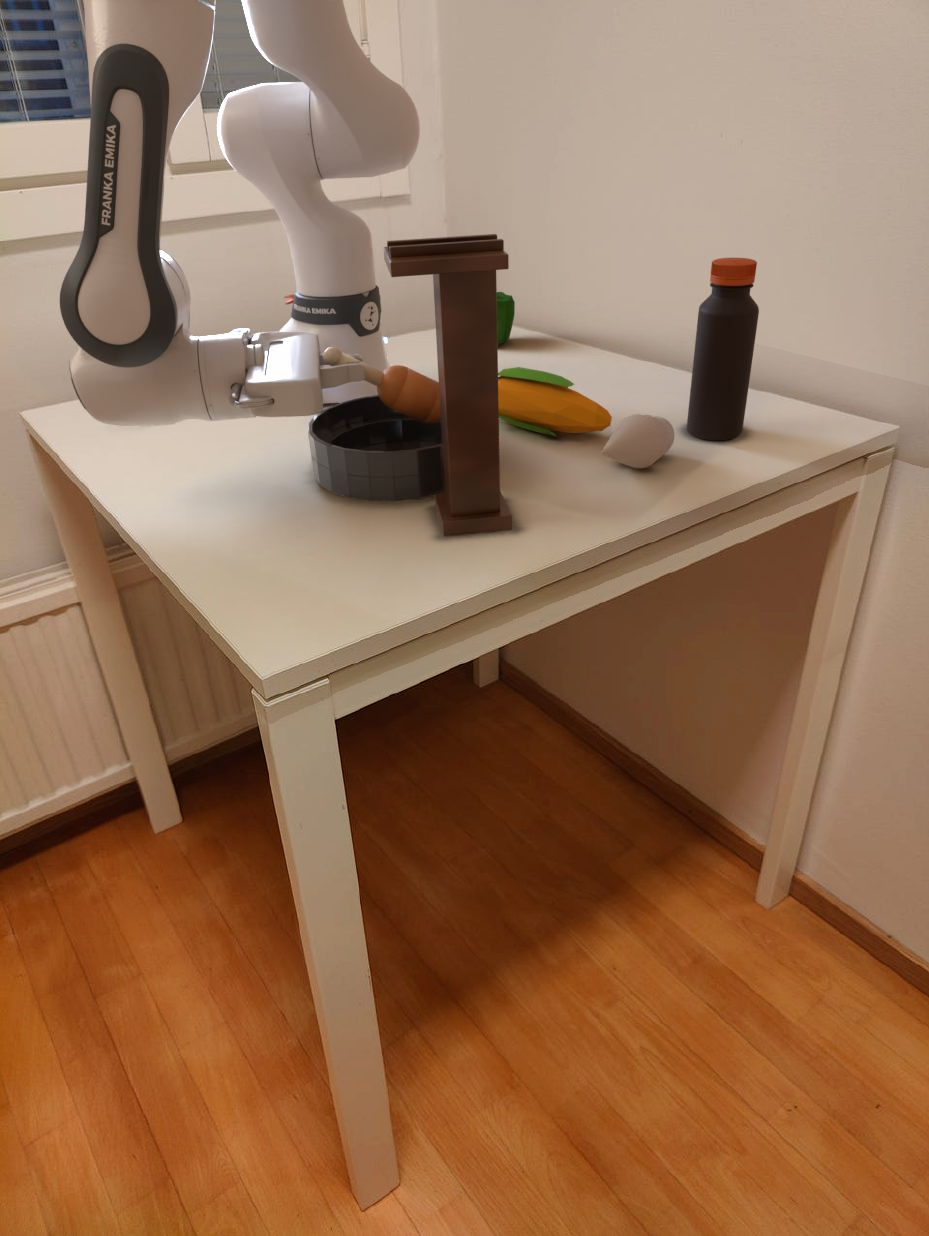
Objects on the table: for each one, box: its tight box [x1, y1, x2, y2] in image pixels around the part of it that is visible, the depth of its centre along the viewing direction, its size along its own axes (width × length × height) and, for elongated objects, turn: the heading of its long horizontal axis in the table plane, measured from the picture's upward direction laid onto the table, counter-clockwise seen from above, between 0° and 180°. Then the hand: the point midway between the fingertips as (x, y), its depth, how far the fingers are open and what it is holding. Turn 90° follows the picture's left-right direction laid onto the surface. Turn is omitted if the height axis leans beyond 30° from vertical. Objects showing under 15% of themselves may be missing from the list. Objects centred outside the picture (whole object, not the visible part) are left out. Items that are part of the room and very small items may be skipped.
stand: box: [383, 233, 513, 537], centre depth 82 cm, size 10×8×27 cm
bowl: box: [307, 395, 445, 502], centre depth 100 cm, size 20×20×6 cm
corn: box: [498, 366, 613, 437], centre depth 109 cm, size 7×8×20 cm
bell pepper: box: [497, 291, 516, 346], centre depth 145 cm, size 8×8×10 cm
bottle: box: [686, 257, 760, 441], centre depth 103 cm, size 7×7×20 cm
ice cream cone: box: [600, 413, 675, 470], centre depth 97 cm, size 6×6×15 cm
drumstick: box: [323, 347, 441, 424], centre depth 96 cm, size 15×5×5 cm, turn 99°
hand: (363, 366), depth 95 cm, fingers closed on drumstick
